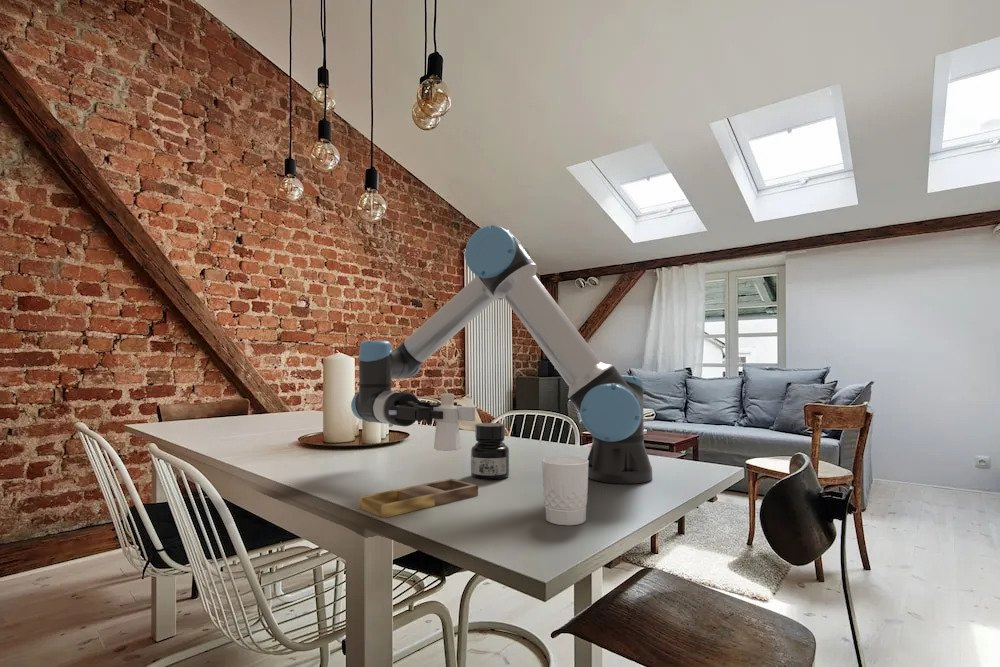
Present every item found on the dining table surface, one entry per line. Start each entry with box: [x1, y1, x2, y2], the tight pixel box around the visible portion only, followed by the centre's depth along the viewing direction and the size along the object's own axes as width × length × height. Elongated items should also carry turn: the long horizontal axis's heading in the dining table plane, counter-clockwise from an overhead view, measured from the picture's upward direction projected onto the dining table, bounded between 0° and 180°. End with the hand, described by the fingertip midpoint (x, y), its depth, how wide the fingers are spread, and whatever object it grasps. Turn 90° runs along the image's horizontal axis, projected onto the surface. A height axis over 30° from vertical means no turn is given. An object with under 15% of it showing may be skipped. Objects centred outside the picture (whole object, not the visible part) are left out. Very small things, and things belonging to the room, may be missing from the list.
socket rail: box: [358, 478, 479, 519], centre depth 101 cm, size 22×8×2 cm, turn 134°
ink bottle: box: [470, 422, 510, 481], centre depth 123 cm, size 10×9×12 cm
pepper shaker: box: [433, 392, 462, 452], centre depth 106 cm, size 5×5×11 cm
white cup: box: [541, 455, 589, 526], centre depth 90 cm, size 8×8×10 cm
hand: (464, 415), depth 102 cm, fingers closed on pepper shaker, 4 cm apart
